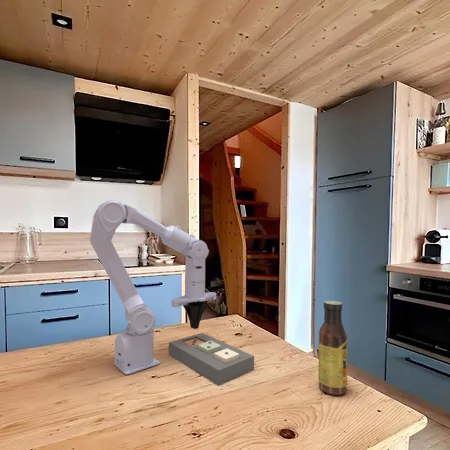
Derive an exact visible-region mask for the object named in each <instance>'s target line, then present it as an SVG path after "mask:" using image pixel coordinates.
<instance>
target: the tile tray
mask: <svg viewBox="0 0 450 450" xmlns="http://www.w3.org/2000/svg"><path fill="white" fill-rule="evenodd" d="M195 338H197V339H199V340H201V341H203V342H204V343H205V342H208V341H213V342H215V343H217V344H219V345H221V350H224V349H227V348H228V349H230V350H232V351H234V352H236V353H238V354H239V359H237V360H235V361H232V362H230V363H227V364H225V363H223V362H221V361H219V360H217V359H215V358H214V353H215V352H214V353H211V354H206V353H204V352H202V351H200V350H198V345H195V346H191V345H189V344H187V343H185V342H184V341H188V340H191V339H195ZM221 350H219V351H221ZM217 352H218V351H217ZM168 355H169V356H171V357H172V358H174V359H175V360H177V361H178V362H180V363H182V364H183V365H185V366H186V367H188V368H190V369H191V370H194V371H195V372H196V373H198V374H199V375H201V376H203V377H204V378H205V379H207V380H209V381H211V382H212V383H214V384H216V385H217V386H221V385H224V384H225V383H228V382H229V381H232V380H234V379H236V378H239V377H240V376H243V375H245V374H247V373H249V372H252V371H254V370H255V355H253V354H250V353H249V352H246V351H244V350H242V349H240V348H237V347H235V346H233V345H230V344H228V343H226V342H224V341H222V340H220V339H217V338H215V337H213V336H211V335H208V334H206V333H204V332H200V333H197V334H193V335H189V336H186V337H183V338H182V337H181V338H180V339H179V338H178V339H176V340H172V341H169V342H168Z"/></svg>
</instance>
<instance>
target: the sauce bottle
mask: <svg viewBox="0 0 450 450" xmlns="http://www.w3.org/2000/svg"><path fill="white" fill-rule="evenodd" d="M323 310H324V318H323V320H324V322H323V323H322V325H321V327H320V328H319V331H318V338H319V339H318V379H317V380H318V387H319V389H320V390H321V391H323V392H324V393H326V394H328V395H332V396H340V395H344V394H345V393H346V392H347V386H348V337H347V333H346V330H345V328H344V325H343V321H342V310H343V303H342V302H341V301H337V300H325V301H323Z"/></svg>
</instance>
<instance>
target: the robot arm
mask: <svg viewBox="0 0 450 450" xmlns="http://www.w3.org/2000/svg"><path fill="white" fill-rule="evenodd" d="M121 224H128V225H129V224H132V225H136V226H138V227H140V228H142V229H143V230H144V229H145V230H146V231H148V232H150V233H152V234H154V235H155V236H158V237H160V239H161V242H162V244H163V245H165V246H167V247H169V248H170V249H172V250H174V251H176V252H178V253H180V254H183V256H184V257H185V266H184V267H185V270H184V271H185V272H184V273H185V274H184V275H185V276H184V277H185V278H184V279H185V280H184V285H185V286H184V290H185V291H184V295H182V296H178V297H176V298H172V299H171V307H172V308H179V307H181V306H182V307H183V308H184V311H186V312H185V313H186V314H187V317H188V321H189V325H190V328H191V329H193V330H197V329H199V327H200V324H201V323H200V322H201V319H202V317H203V314H204V312H205V310H206V309H207V307H208V306H207V305H208V304H207V302H206V301H212V300H213V301H215V300H217V293H216V292H213V291H211V292H206V259H207V258H208V256H209V253H210V250H209V249H208V245H207V243H206V242H205V241H203V240H201V239H196V238H195V237H196V235H194V234H193V233H192V234H189V233H187V232H185V231H183V230H182V227H181V226H179V225H173V224H172V225H169V226H165V225H164V224H162V223H160V222H158V221H157V220H156V219H153V218H152V217H150V216H149V215H147V214H146V213H144V212H142V211H140V210H138V209H137V208H135V207H133V206H130V205H128V204H125V203H124V204H123V203H122V202H121V201H119V200H117V199H109V200H105V201H103V202H102V203H101V204H99V205H98V207H97V209H96V211H95V212H94V214H93V216H92V223H91V228H90V229H91V230H90V236H89V242H90V245H91V246H92V248H93V251H94V252H95V254H96V256H97V258H98V260H99V261H100V264H101V266H102V267H103V269H104V271H105V274H107V276H108V278H109V280H110V282H111V284H112V286H113V287H114V290H115V292H116V293H117V295H118V297H119V299H120V301H121V303H122V305H123V307H124V309H125V311H124V312H125V313H124V314H125V319H126V320H127V322H128V324H127V325H126V328H125V331H124V332H123V333H121V334H118V335H117V336H115V337H116V338H115V342H114V344H115V345H114V362H113V365H114V366H115V367H117V369H118V370H120V371H121V372H122V373H123V374H124V375H130V374H134V373H137V372H139V371H142V370H146V369H149V368H152V367H156V366H157V365H160V364H161V362H160V361H159V360H157V359H156V358H155V357H154V346H155V345H154V344H155V343H154V341H155V340H154V339H155V338H154V336H155V334H154V330H155V326H156V322H157V320H156V315H155V313H154V312H153V311H152V310H150V308H149V307H148V305H147V304H146V303H145V302H144V300H143V299H142V298H141V296H140V294H139V291H138V290H137V288H136V286H135V284H134V282H133V280H132V279H131V277H130V275H129V272H128V271H127V269H126V267H125V265H124V263H123V262H122V259H121V257H120V255H119V254H118V251H117V249H116V248H115V246H114V244H113V241H112V240H113V238H114V235H115V234H116V230H117V229H118V228H119V226H120V225H121Z"/></svg>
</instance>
